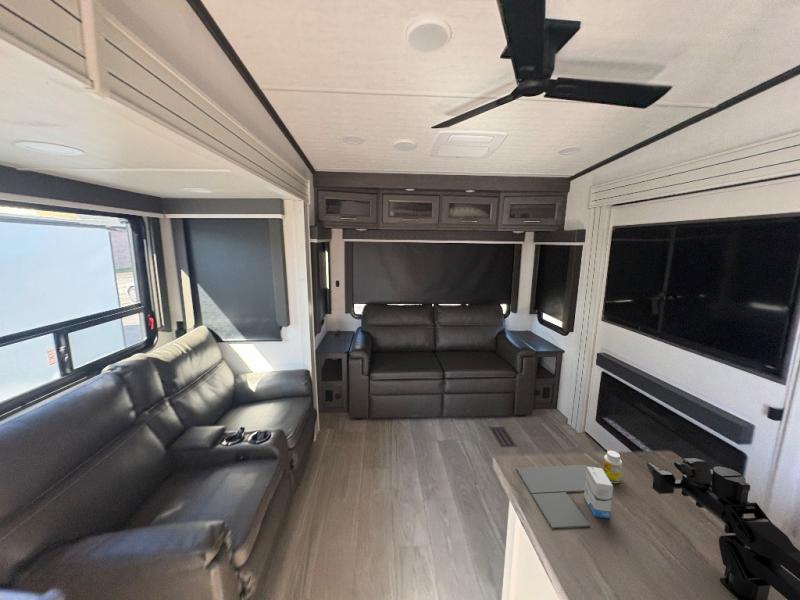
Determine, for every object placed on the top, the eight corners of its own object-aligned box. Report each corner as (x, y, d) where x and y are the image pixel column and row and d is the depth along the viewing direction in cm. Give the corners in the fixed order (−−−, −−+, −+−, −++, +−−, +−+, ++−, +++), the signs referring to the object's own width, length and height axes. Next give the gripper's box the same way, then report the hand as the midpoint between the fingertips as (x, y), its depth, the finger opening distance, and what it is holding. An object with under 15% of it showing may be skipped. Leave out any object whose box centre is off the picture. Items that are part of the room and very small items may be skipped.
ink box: (610, 519, 97) (614, 486, 95) (593, 516, 98) (596, 484, 96) (599, 498, 105) (602, 467, 103) (583, 495, 106) (586, 465, 104)
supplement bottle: (600, 471, 117) (602, 447, 116) (617, 475, 116) (620, 450, 114) (604, 482, 112) (606, 456, 111) (622, 485, 110) (625, 460, 109)
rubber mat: (639, 524, 95) (640, 522, 95) (551, 528, 94) (552, 527, 94) (585, 466, 121) (586, 464, 121) (516, 469, 119) (516, 467, 119)
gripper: (749, 472, 82) (691, 439, 98) (684, 474, 81) (636, 440, 97) (743, 510, 83) (686, 471, 99) (678, 512, 82) (632, 472, 98)
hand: (660, 463), depth 98 cm, fingers open, 9 cm apart
